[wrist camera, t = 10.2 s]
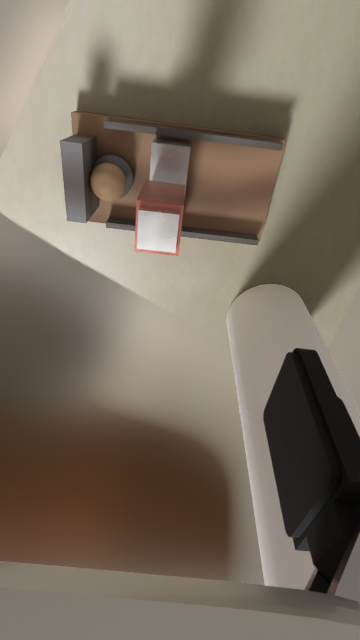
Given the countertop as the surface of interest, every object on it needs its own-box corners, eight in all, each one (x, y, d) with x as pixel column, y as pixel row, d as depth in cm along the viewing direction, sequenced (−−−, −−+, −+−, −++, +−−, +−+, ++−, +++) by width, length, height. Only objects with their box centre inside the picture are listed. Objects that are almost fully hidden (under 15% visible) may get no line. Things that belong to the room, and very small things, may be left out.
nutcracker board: (76, 111, 28) (52, 116, 23) (282, 137, 29) (300, 148, 24) (82, 215, 34) (64, 237, 29) (257, 235, 34) (268, 260, 29)
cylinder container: (321, 315, 40) (528, 683, 15) (261, 358, 44) (348, 700, 20) (270, 268, 36) (430, 644, 12) (210, 320, 41) (238, 675, 16)
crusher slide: (155, 137, 28) (134, 166, 18) (190, 141, 28) (189, 173, 18) (150, 219, 32) (131, 280, 22) (181, 223, 32) (176, 285, 22)
